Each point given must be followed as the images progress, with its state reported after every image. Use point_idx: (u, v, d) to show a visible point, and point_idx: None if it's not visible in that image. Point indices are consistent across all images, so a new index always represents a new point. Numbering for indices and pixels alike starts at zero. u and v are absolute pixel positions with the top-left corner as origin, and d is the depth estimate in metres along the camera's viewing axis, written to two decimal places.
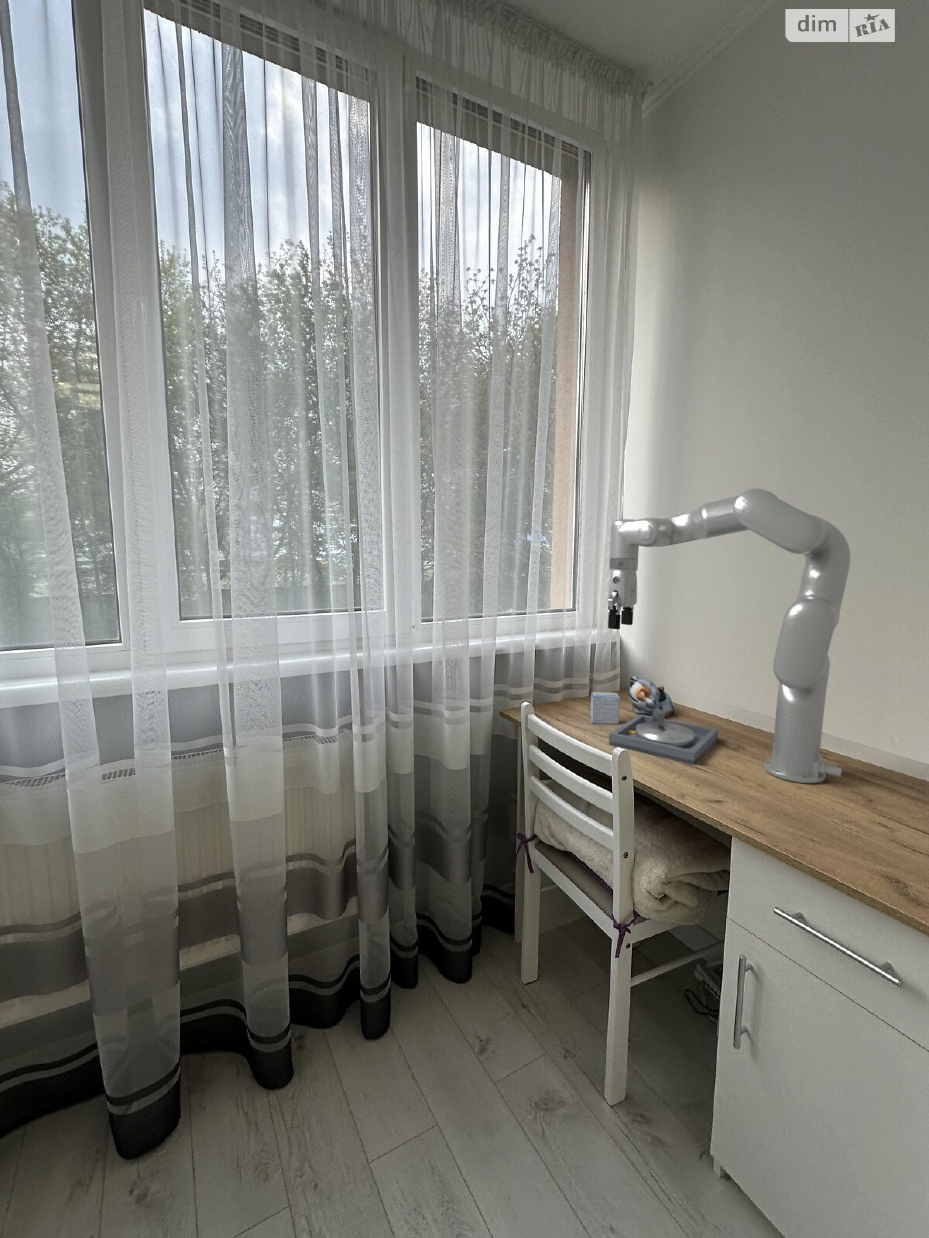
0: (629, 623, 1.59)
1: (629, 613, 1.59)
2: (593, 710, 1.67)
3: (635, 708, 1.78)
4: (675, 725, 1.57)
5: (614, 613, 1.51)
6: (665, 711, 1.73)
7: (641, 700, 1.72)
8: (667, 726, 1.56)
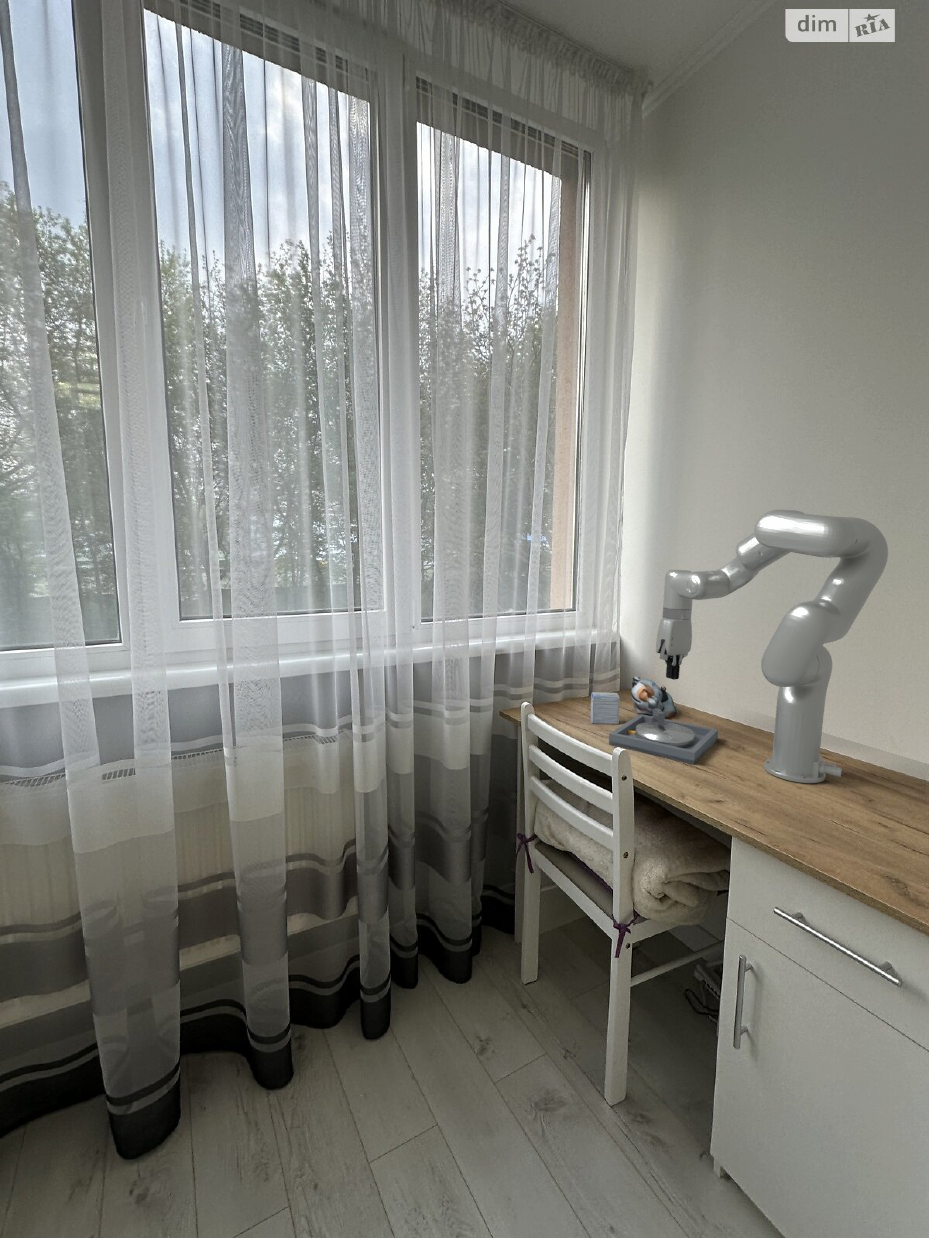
0: None
1: None
2: (593, 710, 1.67)
3: (637, 708, 1.77)
4: (675, 725, 1.57)
5: None
6: (667, 711, 1.72)
7: (643, 700, 1.72)
8: (667, 726, 1.56)
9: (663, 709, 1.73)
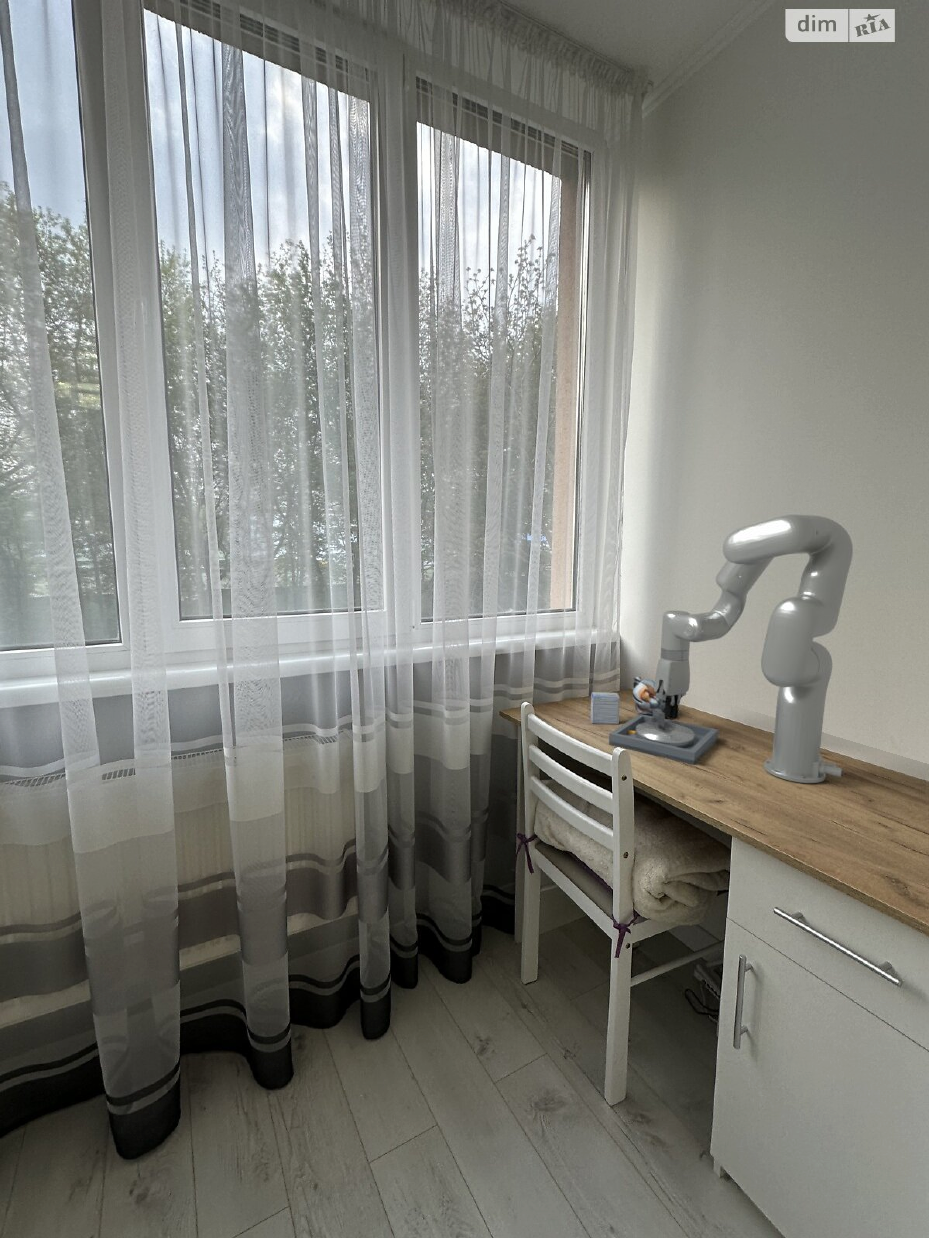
0: None
1: None
2: (593, 710, 1.67)
3: (638, 709, 1.77)
4: (675, 725, 1.57)
5: None
6: None
7: (645, 701, 1.72)
8: (667, 726, 1.56)
9: None
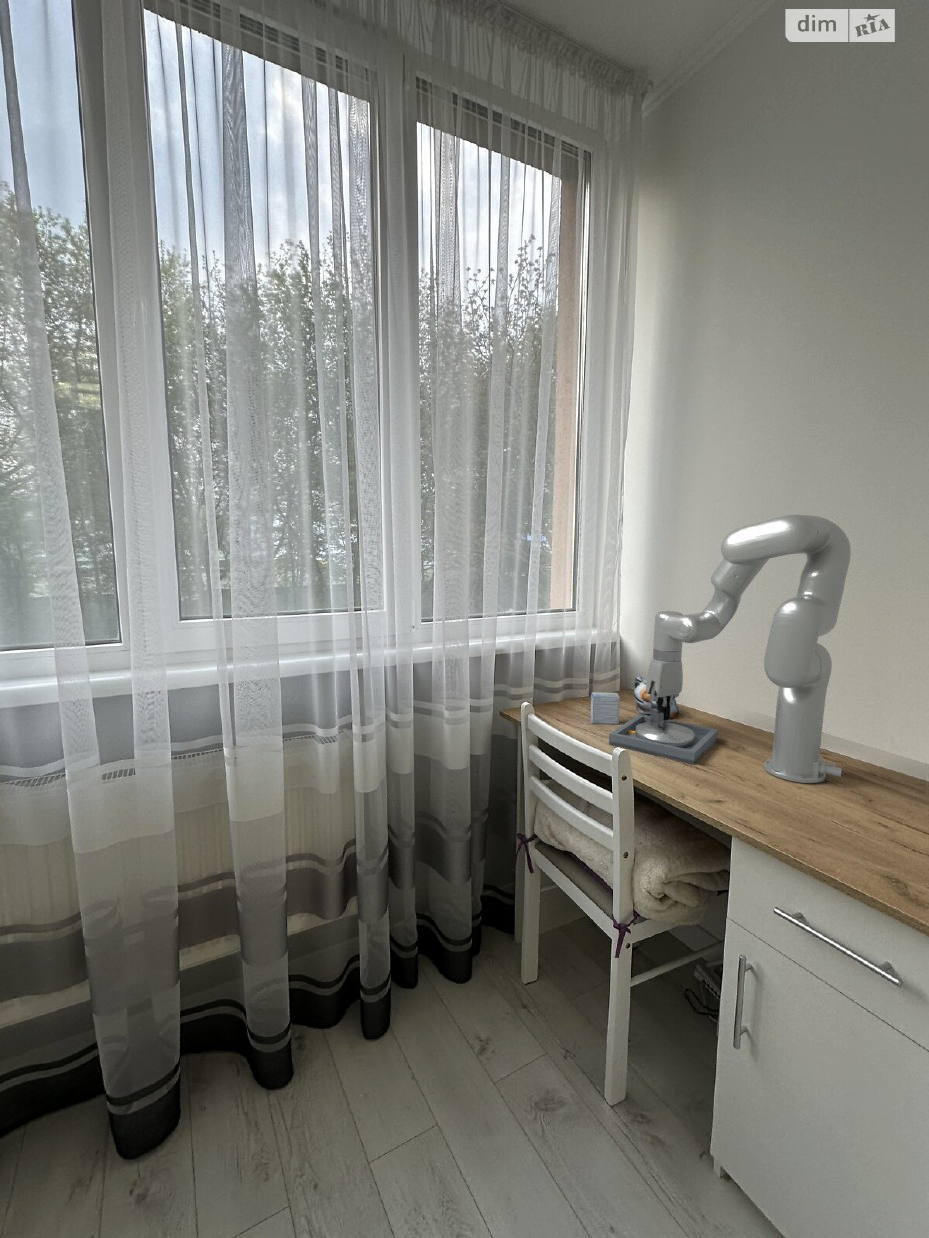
0: None
1: None
2: (593, 710, 1.67)
3: (640, 709, 1.77)
4: (673, 724, 1.57)
5: None
6: (670, 712, 1.72)
7: (646, 701, 1.71)
8: (666, 725, 1.56)
9: None
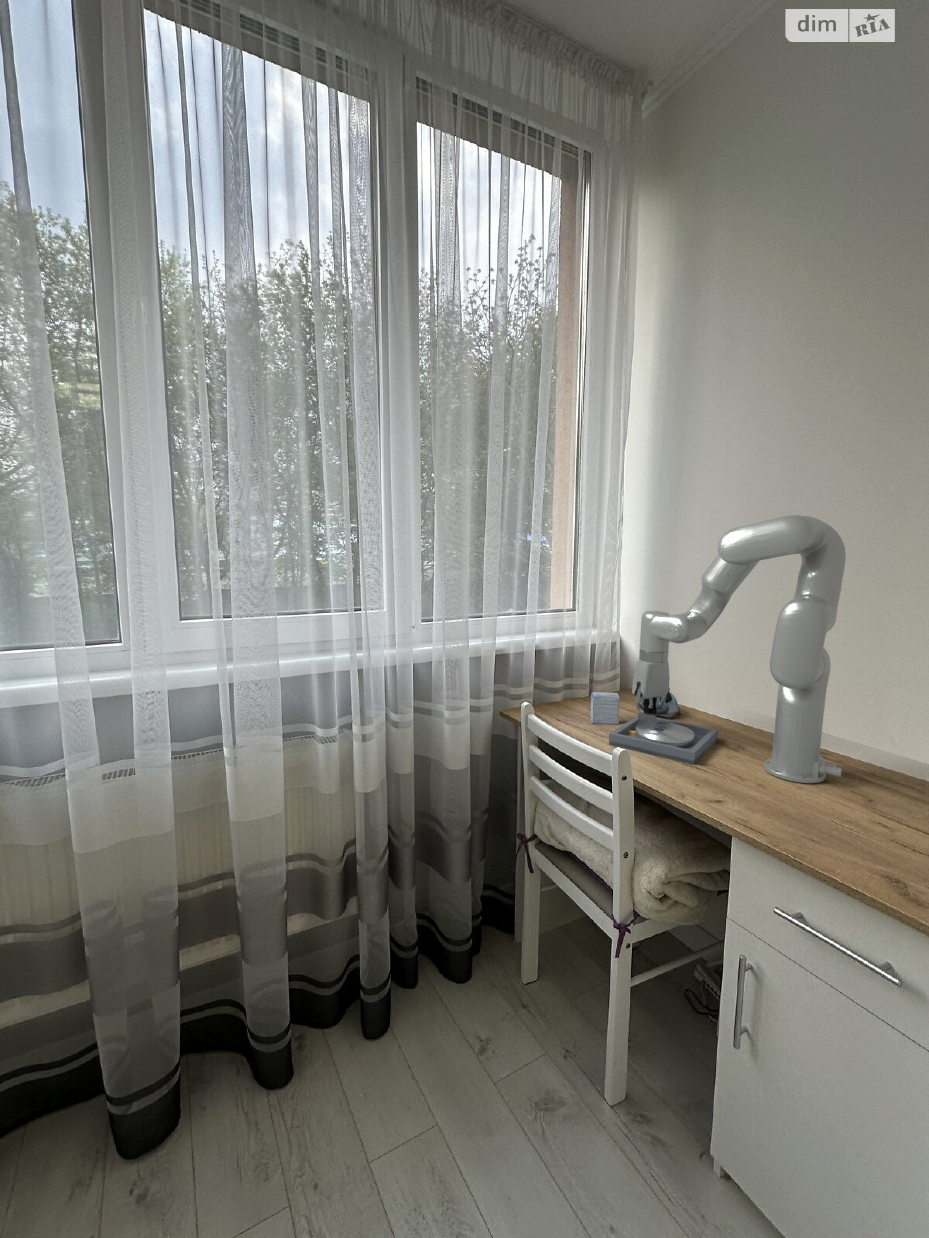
0: None
1: None
2: (593, 710, 1.67)
3: (641, 709, 1.77)
4: None
5: None
6: (672, 712, 1.72)
7: None
8: None
9: (667, 709, 1.72)
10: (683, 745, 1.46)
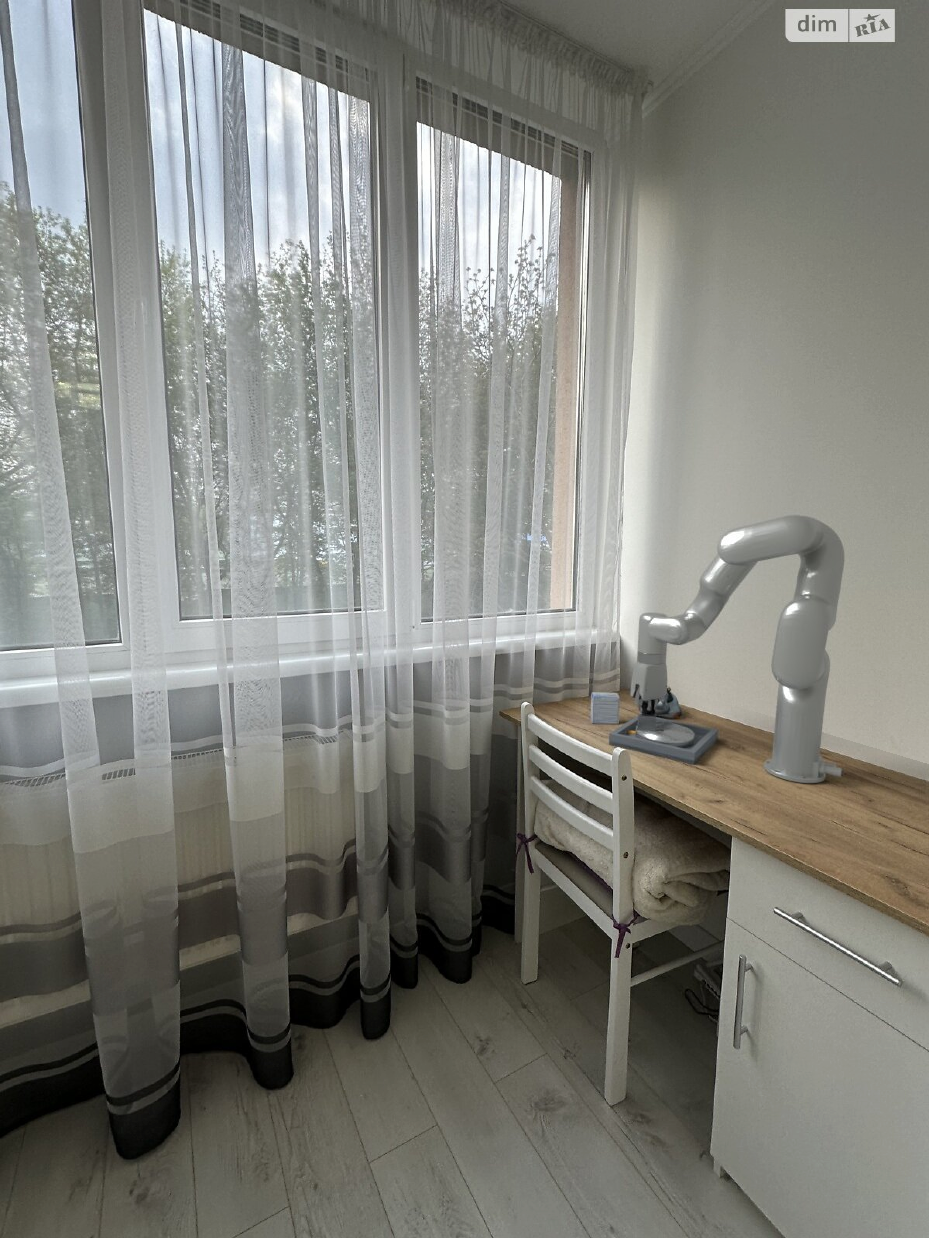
0: None
1: None
2: (593, 710, 1.67)
3: None
4: None
5: None
6: (673, 712, 1.72)
7: None
8: None
9: (669, 710, 1.72)
10: (690, 743, 1.47)
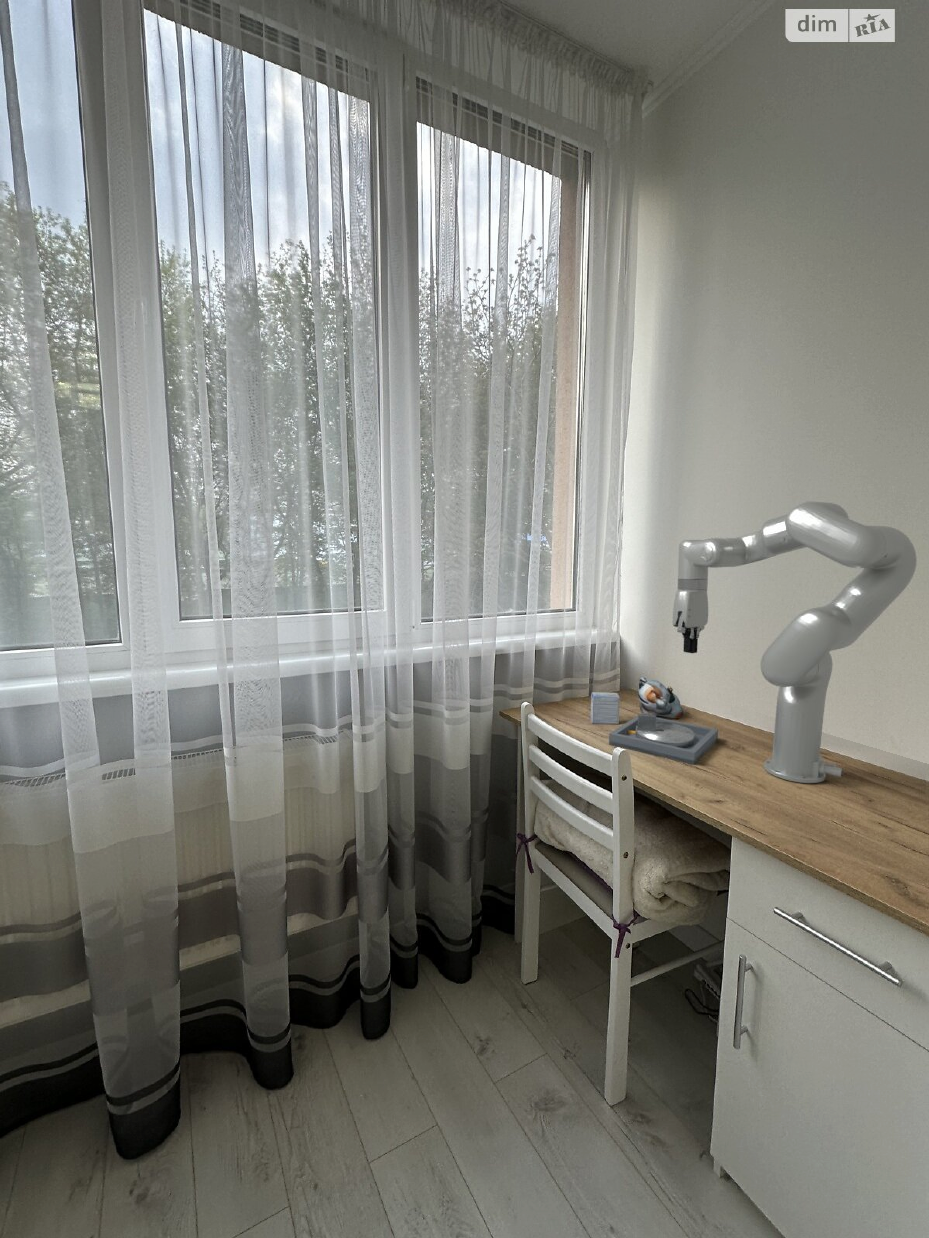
0: None
1: None
2: (593, 710, 1.67)
3: (644, 710, 1.76)
4: None
5: None
6: (675, 712, 1.72)
7: (651, 702, 1.71)
8: None
9: (671, 710, 1.72)
10: (690, 743, 1.47)
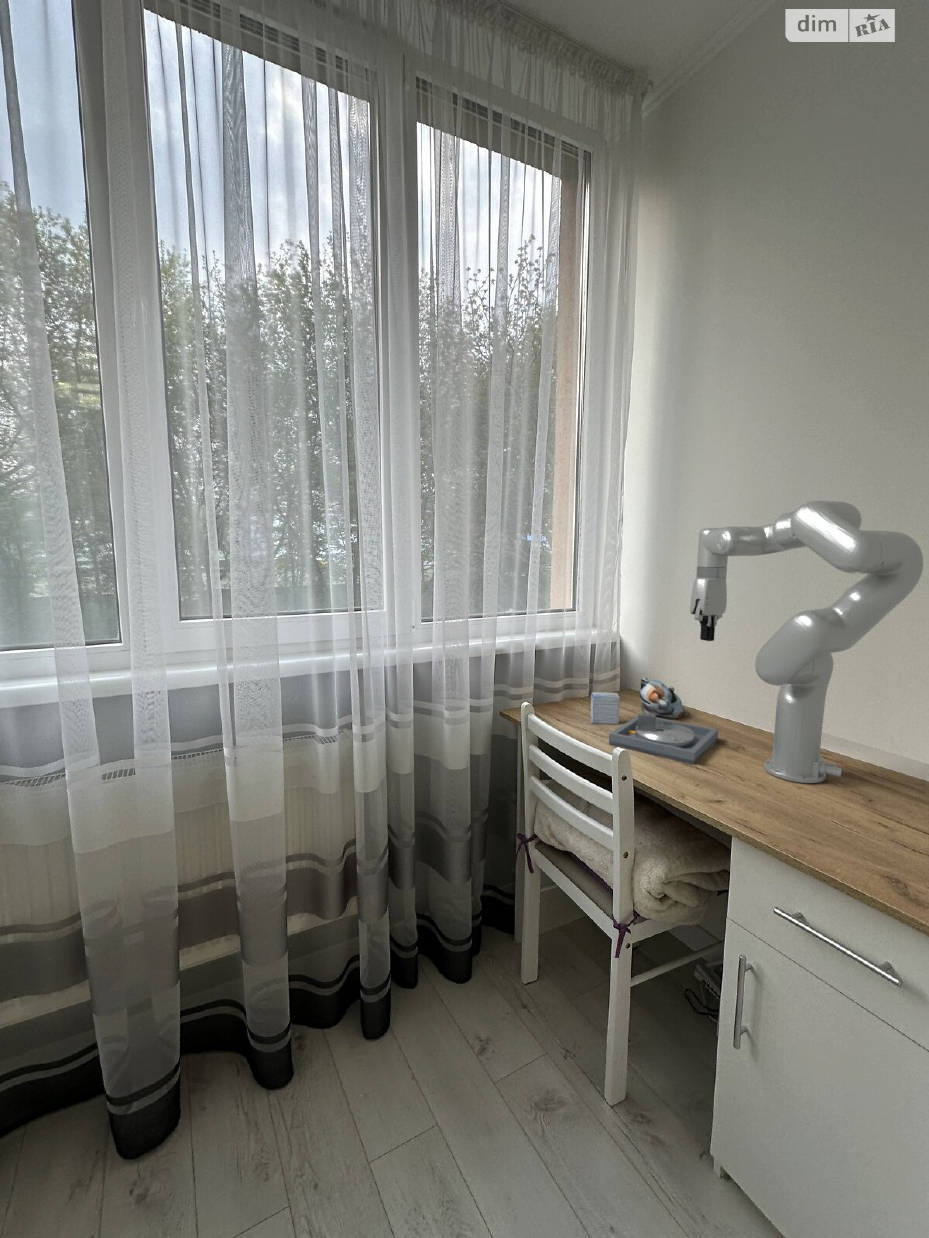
0: None
1: None
2: (593, 710, 1.67)
3: (646, 710, 1.76)
4: None
5: None
6: (677, 712, 1.71)
7: (653, 702, 1.70)
8: None
9: (673, 710, 1.71)
10: (690, 743, 1.47)
